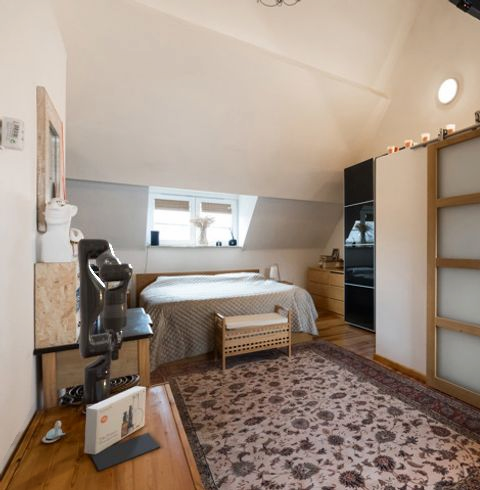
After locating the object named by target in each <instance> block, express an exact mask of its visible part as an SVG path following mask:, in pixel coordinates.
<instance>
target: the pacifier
mask: <svg viewBox="0 0 480 490" xmlns="http://www.w3.org/2000/svg"><path fill="white" fill-rule="evenodd" d="M61 427H62V422H61V420H57V421H56V422H55V424H54V427H53V428H51V429H50V430H49V431H47V433H46V435H45V436H44V437H43V438H42V439H41V440H42V442H43V443H45V444H51V443H55V442H56V441H58V440H60V439H61V437H62V436H64V435H66V432H63V429H62V428H61Z"/></svg>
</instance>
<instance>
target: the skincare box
mask: <svg viewBox="0 0 480 490" xmlns="http://www.w3.org/2000/svg"><path fill="white" fill-rule="evenodd" d="M146 398H147V387H146V386H139V385H135V386H133V387H131V388H129V389H126V390H124V391H122V392H120V393H117V394H115V395H113V396H110V398H108V399H106V400H103V401H101V402H99V403H97V404H94V405H92V406H90V407H88V408H86V415H85V427H84V428H85V429H84V450H83V454H89V455H90V454H97V453H99V452H100V451H102V450H104V449H106V448H107V447H109V446H112V445H115V444H117V443H118V442H119V441H121V440H123V439H124V438H126V437H128V436H129V435H131V434H133V433H134V432H136V431H139V429H141V428H143V427H145V426H146V425H145V424H146V423H145V420H146V418H145V417H146V400H147V399H146Z"/></svg>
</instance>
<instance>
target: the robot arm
mask: <svg viewBox="0 0 480 490" xmlns="http://www.w3.org/2000/svg"><path fill="white" fill-rule="evenodd" d="M77 260H78V261H77V262H78V270H79V271H78V272H79V310H80V311H79V312H80V327H79V328H80V329H79V343H78V344H79V347H78V350H79V355H80V357H81V358H82V359H91V358H96V357H97V358H96V359H94V360H93V361H91V362H89V363H88V364H86V365H85V366H84V367H83V387H82V388H83V389H82V396H81V402H79V403H73V402H74V398H73V397H71V396H69V395H61V396H60V397H59V400H62V399H68V400H70V401H68V405H70V406H73V407H76V406H82V414H83V415H85V416H86V408H88V407H90V406H92V405H94V404H97V403H99V402H101V401H103V400H106V399H108V398H110V397H111V365H112V362H114V361H118V360H119V359H120V358H119V354H120V352H119V351H120V350H121V349H122V346H123V342H124V337H123V331H122V329H123V328H125V327H127V326H128V305H127V298H128V297H127V294H128V288H129V285H130V282H131V280H132V277H133V267H132V266H131V264H129V263H125V262H124V263H122V262H121V261H119V259H118V258H117V257H116V256H115V254H114V251H113V248H112V245H111V243H110V241H108V240H107V239H104V238H80V239H79V240H78V242H77ZM94 260H95V264H96V267H97V268H98V269H99V270H98V276H97V275H96V274H95V273H94V271H93V269H92V267H91V265H90V261H94ZM103 282H104V283H117V282H119V283H118V284H117V285H116V286H113V287H109V288H106V286H105V284H104V283H103ZM101 314H102V329H104V330H108V331H107V332H105V333H100V334H99V333H98V334H92V332H93V328H94V325H95V323H96V321H97V319H98V318H99V317H100V315H101Z"/></svg>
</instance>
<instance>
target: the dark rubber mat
mask: <svg viewBox="0 0 480 490" xmlns="http://www.w3.org/2000/svg"><path fill="white" fill-rule="evenodd" d="M160 448H161V446H160V444H158V443H157V441H156V440H155V439H154V438H153V437H152V436H151V435H150V433H149V432H145V433H144V434H140V435H137V436H135V437H132V438H128V439H126V440H123V441H120V442H116V443H114V444H112V445H111V446H109V447H107V448H106V449H104V450H102V451H100V452H99V453H97V454H89V455H90V458H91V459H92V461H93V463H94V465H95V466H96V468H97V470H98V472H102V471H104V470H107V469H109V468H112V467H114V466H117V465H120V464H122V463H125V462H127V461H129V460H132V459H135V458H137V457H140V456H142V455H145V454H148V453H150V452H153V451H155V450H158V449H160Z"/></svg>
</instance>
